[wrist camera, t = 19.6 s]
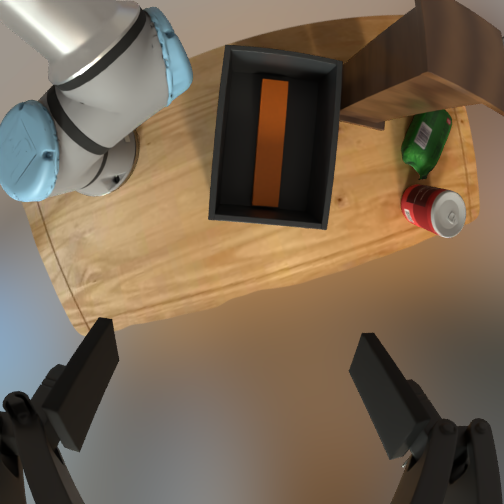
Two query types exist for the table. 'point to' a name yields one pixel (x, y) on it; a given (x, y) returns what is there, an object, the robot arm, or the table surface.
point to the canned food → (434, 209)
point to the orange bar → (270, 143)
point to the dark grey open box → (295, 139)
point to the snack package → (426, 140)
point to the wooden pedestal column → (425, 66)
